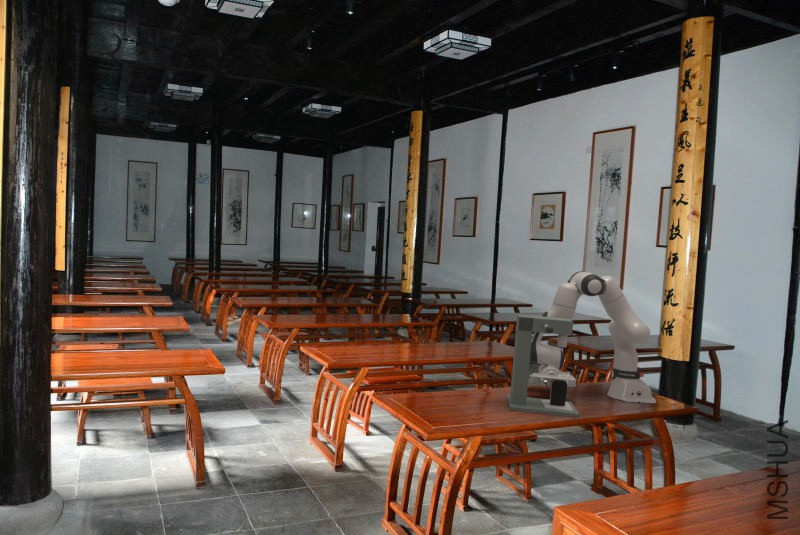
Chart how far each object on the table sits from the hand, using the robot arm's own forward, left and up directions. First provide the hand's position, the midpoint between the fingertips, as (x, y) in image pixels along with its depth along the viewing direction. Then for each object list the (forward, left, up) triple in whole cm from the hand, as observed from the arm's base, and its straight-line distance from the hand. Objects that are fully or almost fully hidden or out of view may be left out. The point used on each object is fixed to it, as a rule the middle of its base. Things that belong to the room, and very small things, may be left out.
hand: (555, 383), depth 268 cm
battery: (0, +8, -8) cm, 11 cm away
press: (+7, +12, -9) cm, 16 cm away
